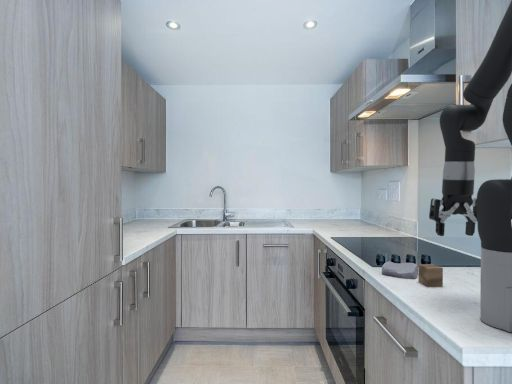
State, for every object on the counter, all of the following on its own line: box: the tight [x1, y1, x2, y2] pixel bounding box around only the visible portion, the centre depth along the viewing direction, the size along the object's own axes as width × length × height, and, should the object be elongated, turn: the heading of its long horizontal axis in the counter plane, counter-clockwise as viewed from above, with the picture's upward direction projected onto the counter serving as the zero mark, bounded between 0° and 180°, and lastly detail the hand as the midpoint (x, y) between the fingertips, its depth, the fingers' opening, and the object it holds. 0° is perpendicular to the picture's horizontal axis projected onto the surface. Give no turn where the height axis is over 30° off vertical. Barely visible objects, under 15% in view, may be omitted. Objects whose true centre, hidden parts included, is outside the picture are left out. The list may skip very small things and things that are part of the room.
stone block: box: [381, 261, 419, 280], centre depth 117 cm, size 12×5×10 cm
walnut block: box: [417, 263, 444, 288], centre depth 105 cm, size 5×5×6 cm
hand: (454, 235), depth 92 cm, fingers open, 8 cm apart
